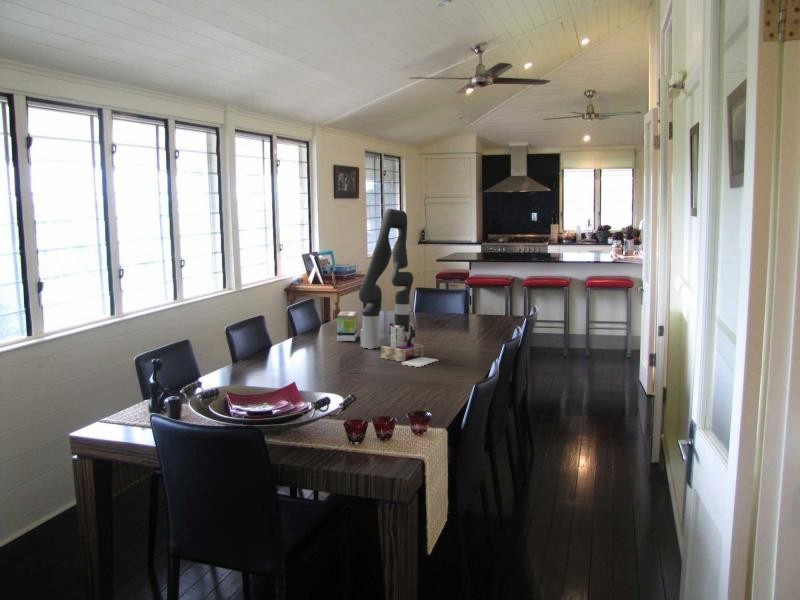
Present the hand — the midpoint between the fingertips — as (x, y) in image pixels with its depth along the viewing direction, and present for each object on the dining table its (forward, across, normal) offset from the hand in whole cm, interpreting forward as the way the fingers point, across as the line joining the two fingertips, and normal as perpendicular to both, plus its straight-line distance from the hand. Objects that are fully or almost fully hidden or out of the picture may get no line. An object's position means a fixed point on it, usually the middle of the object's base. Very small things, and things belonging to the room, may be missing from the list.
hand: (402, 345), depth 334 cm
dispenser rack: (+6, 0, 0) cm, 6 cm away
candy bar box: (+6, 0, 0) cm, 6 cm away
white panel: (+6, +14, -4) cm, 16 cm away
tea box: (+6, -52, +17) cm, 55 cm away
